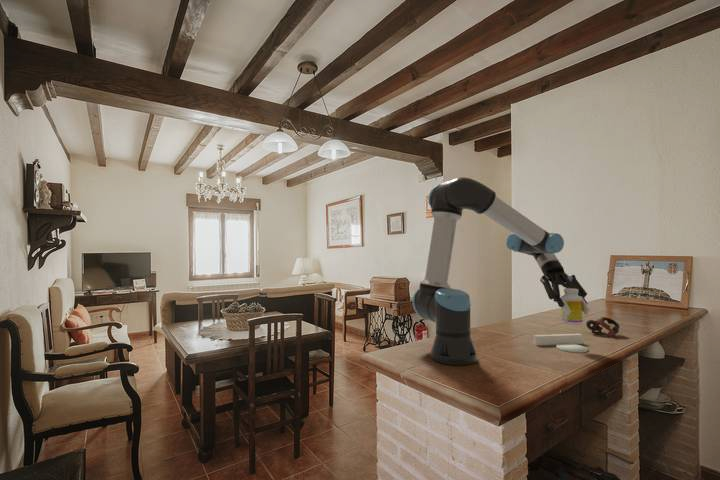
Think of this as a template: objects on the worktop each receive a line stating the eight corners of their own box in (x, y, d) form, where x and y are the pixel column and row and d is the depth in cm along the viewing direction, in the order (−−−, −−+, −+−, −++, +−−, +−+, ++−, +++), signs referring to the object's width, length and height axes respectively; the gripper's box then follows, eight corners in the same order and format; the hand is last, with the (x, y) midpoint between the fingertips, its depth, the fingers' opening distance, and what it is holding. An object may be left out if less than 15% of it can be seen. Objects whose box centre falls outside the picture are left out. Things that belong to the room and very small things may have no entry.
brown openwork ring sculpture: (606, 332, 159) (615, 317, 156) (616, 347, 151) (626, 332, 147) (578, 325, 160) (587, 310, 156) (587, 339, 152) (596, 324, 148)
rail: (535, 345, 138) (535, 336, 138) (533, 344, 140) (533, 335, 140) (582, 343, 140) (582, 334, 140) (579, 342, 141) (579, 333, 141)
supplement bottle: (587, 324, 131) (586, 289, 132) (572, 326, 130) (571, 290, 130) (572, 320, 138) (571, 287, 138) (557, 322, 136) (556, 288, 136)
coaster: (567, 353, 128) (567, 351, 128) (550, 345, 138) (550, 343, 138) (594, 352, 129) (594, 350, 129) (575, 344, 139) (575, 342, 139)
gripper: (568, 271, 150) (598, 318, 134) (523, 272, 149) (548, 320, 132) (577, 258, 145) (609, 306, 128) (530, 260, 143) (556, 308, 127)
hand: (578, 313), depth 130 cm, fingers closed on supplement bottle, 7 cm apart
